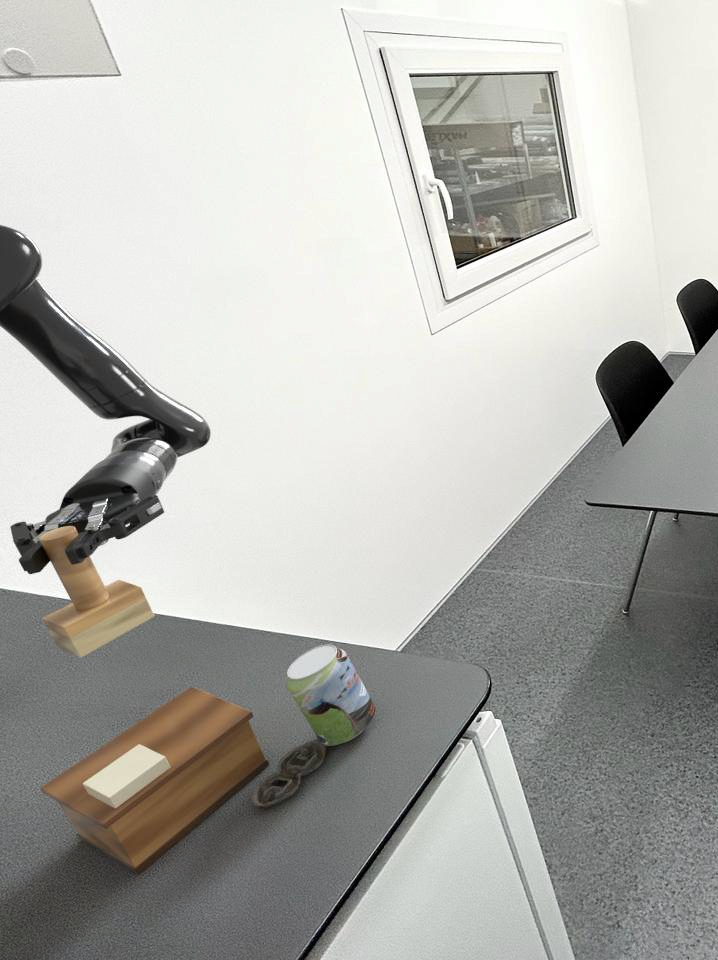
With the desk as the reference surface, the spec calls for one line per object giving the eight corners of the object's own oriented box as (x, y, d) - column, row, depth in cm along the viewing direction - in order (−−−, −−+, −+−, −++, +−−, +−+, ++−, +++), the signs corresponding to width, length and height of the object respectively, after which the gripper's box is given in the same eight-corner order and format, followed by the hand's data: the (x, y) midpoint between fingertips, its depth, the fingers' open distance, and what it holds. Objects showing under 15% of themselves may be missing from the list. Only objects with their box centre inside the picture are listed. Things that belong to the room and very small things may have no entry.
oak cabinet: (74, 842, 66) (39, 788, 63) (215, 736, 78) (191, 686, 75) (136, 879, 63) (102, 824, 60) (274, 763, 74) (251, 711, 71)
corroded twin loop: (241, 809, 69) (238, 803, 69) (302, 743, 76) (300, 737, 76) (281, 814, 68) (278, 808, 68) (339, 747, 76) (337, 741, 76)
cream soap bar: (88, 794, 62) (81, 783, 62) (144, 754, 66) (139, 743, 66) (115, 809, 61) (108, 797, 61) (171, 767, 65) (165, 756, 65)
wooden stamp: (58, 648, 74) (1, 547, 69) (133, 608, 80) (86, 512, 75) (80, 658, 73) (24, 555, 67) (154, 616, 79) (108, 519, 74)
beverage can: (384, 728, 78) (364, 651, 75) (312, 768, 73) (287, 687, 70) (369, 700, 82) (350, 626, 79) (301, 736, 77) (277, 658, 74)
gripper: (32, 477, 79) (-59, 554, 65) (176, 451, 86) (123, 516, 71) (57, 526, 82) (-25, 610, 68) (195, 498, 88) (147, 569, 74)
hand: (51, 561), depth 70 cm, fingers closed on wooden stamp, 3 cm apart
